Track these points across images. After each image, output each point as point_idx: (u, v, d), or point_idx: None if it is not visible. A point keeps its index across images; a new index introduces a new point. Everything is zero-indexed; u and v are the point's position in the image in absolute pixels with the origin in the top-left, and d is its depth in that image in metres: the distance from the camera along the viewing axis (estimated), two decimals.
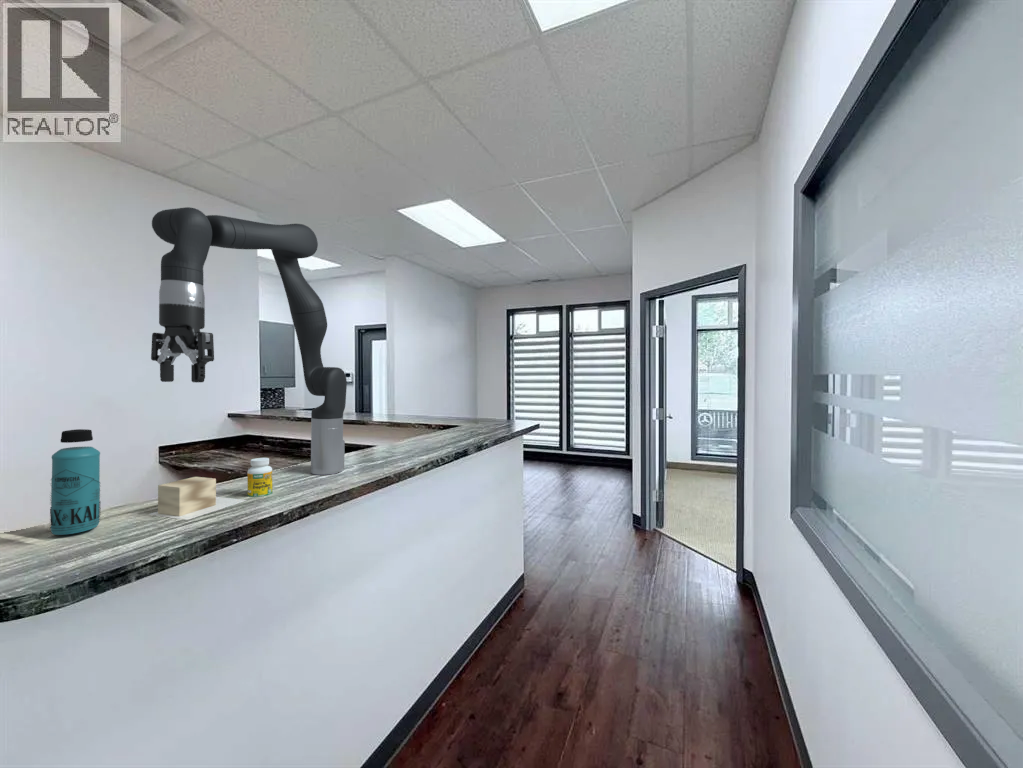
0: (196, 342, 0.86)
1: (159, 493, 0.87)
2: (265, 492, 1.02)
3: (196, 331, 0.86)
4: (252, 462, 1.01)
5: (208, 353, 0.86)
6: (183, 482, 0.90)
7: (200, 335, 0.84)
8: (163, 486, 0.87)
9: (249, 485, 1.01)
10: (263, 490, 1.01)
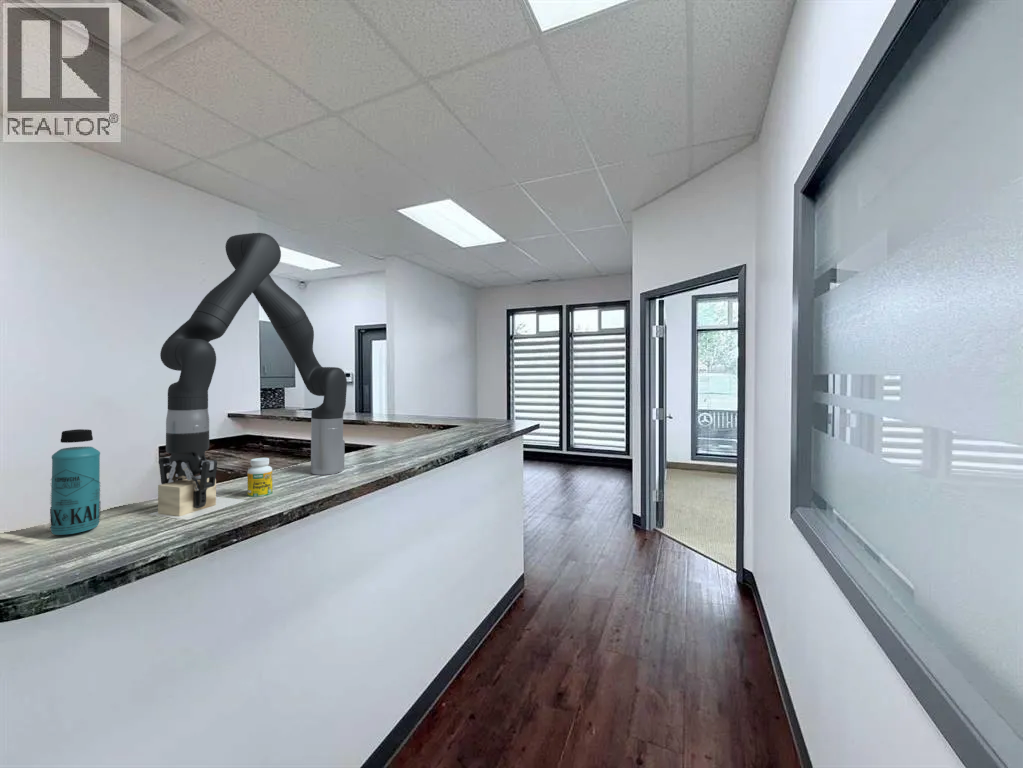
0: (200, 467, 0.90)
1: (159, 493, 0.87)
2: (265, 492, 1.02)
3: (201, 456, 0.90)
4: (252, 462, 1.01)
5: (210, 479, 0.90)
6: (183, 482, 0.90)
7: (205, 465, 0.88)
8: (163, 486, 0.87)
9: (249, 485, 1.01)
10: (263, 490, 1.01)
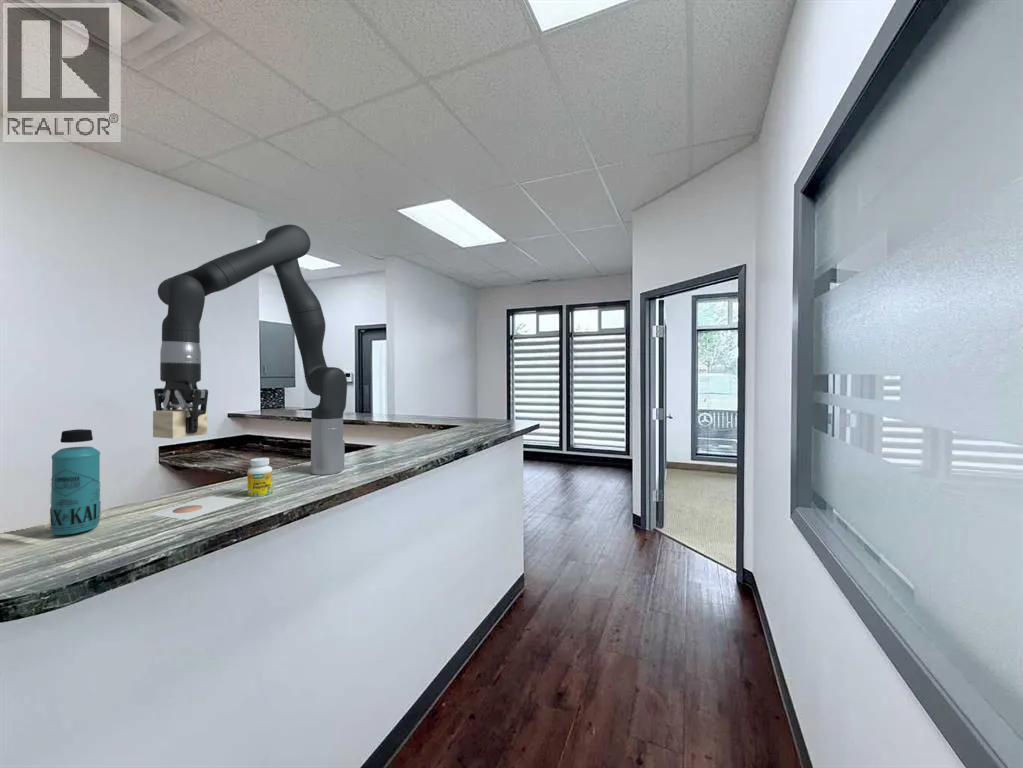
0: (192, 396, 0.97)
1: (154, 418, 0.94)
2: (265, 492, 1.02)
3: (193, 385, 0.97)
4: (252, 462, 1.01)
5: (201, 407, 0.97)
6: (176, 410, 0.97)
7: (196, 393, 0.95)
8: (157, 411, 0.94)
9: (249, 485, 1.01)
10: (263, 490, 1.01)
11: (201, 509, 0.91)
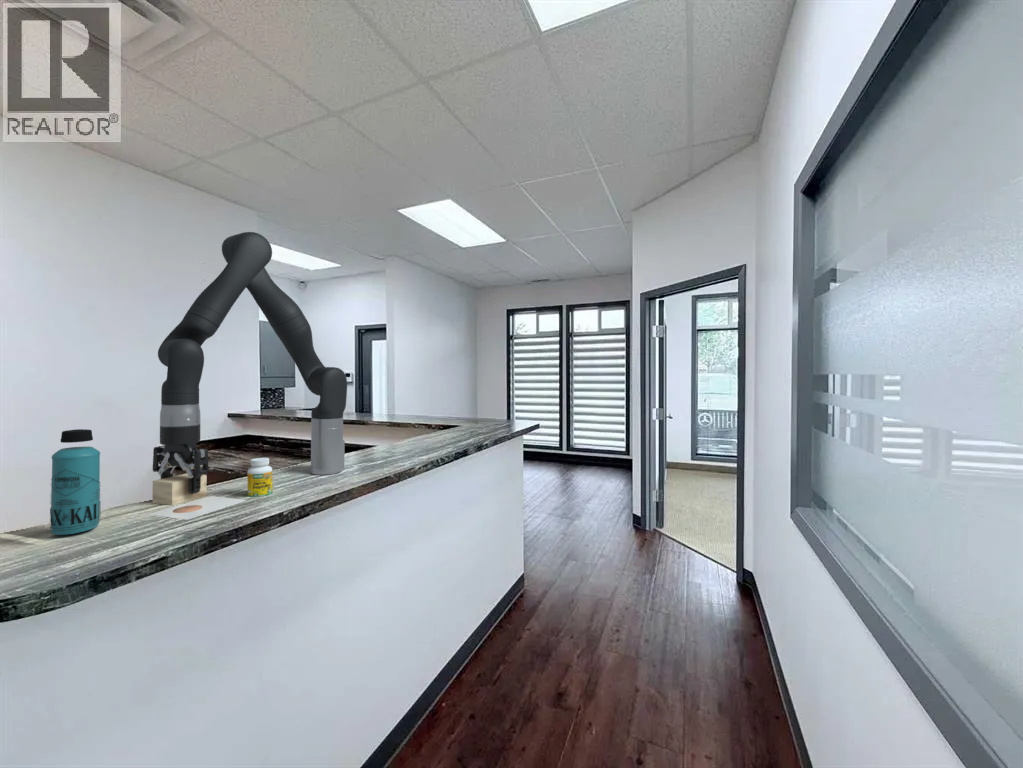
0: (192, 456, 0.97)
1: (154, 488, 0.95)
2: (265, 492, 1.02)
3: (192, 447, 0.97)
4: (252, 462, 1.01)
5: (203, 467, 0.97)
6: (176, 478, 0.97)
7: (196, 453, 0.95)
8: (157, 482, 0.94)
9: (249, 485, 1.01)
10: (263, 490, 1.01)
11: (201, 509, 0.91)
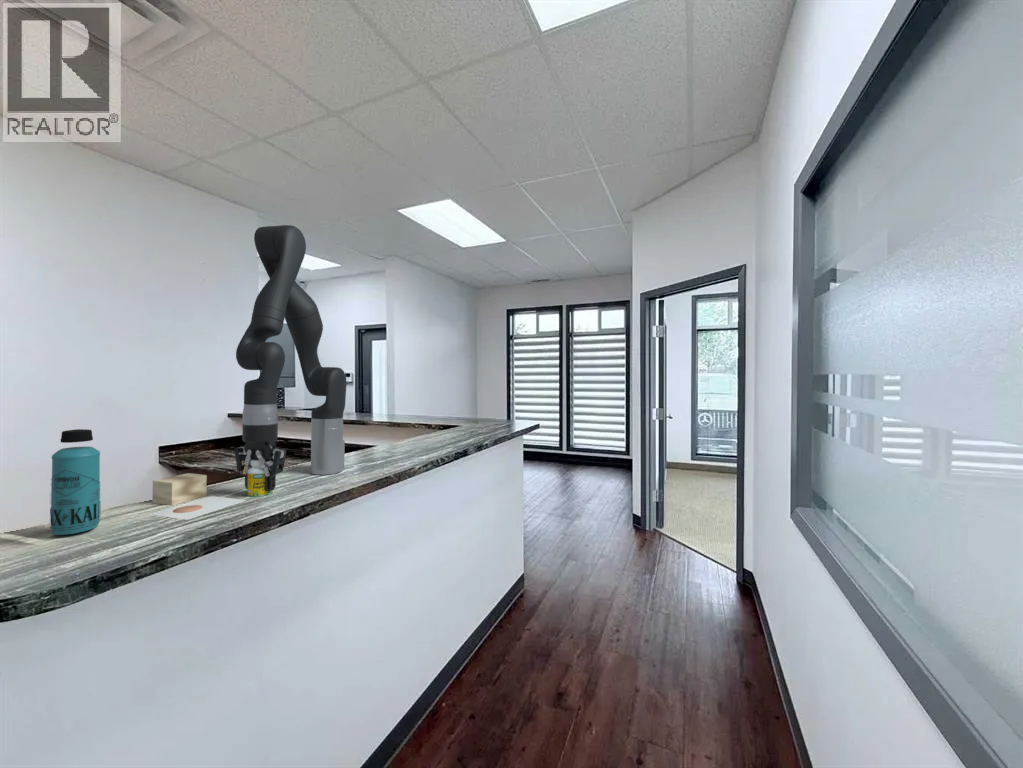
0: (271, 455, 1.03)
1: (154, 488, 0.95)
2: (265, 492, 1.02)
3: (272, 445, 1.02)
4: (252, 462, 1.01)
5: (279, 466, 1.02)
6: (176, 478, 0.97)
7: (277, 454, 1.00)
8: (157, 481, 0.94)
9: (249, 485, 1.01)
10: (263, 490, 1.01)
11: (201, 509, 0.91)
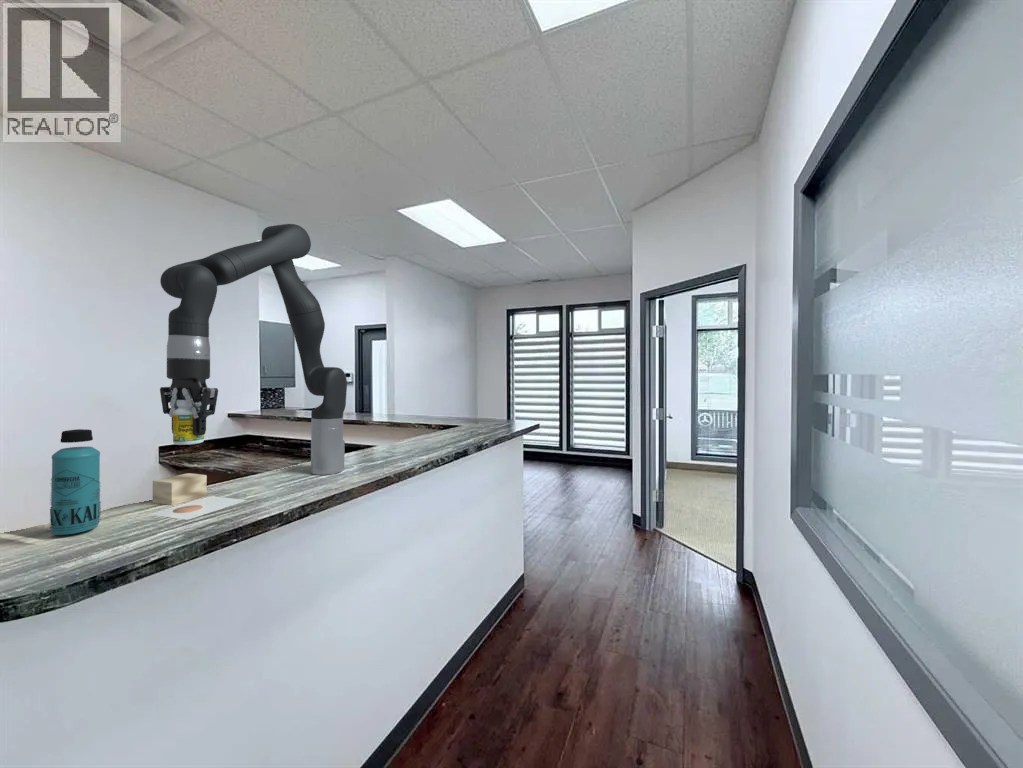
0: (201, 395, 0.90)
1: (154, 488, 0.95)
2: (194, 436, 0.89)
3: (202, 383, 0.89)
4: (178, 402, 0.88)
5: (210, 407, 0.90)
6: (176, 478, 0.97)
7: (205, 392, 0.88)
8: (157, 481, 0.94)
9: (174, 428, 0.88)
10: (190, 434, 0.89)
11: (201, 509, 0.91)
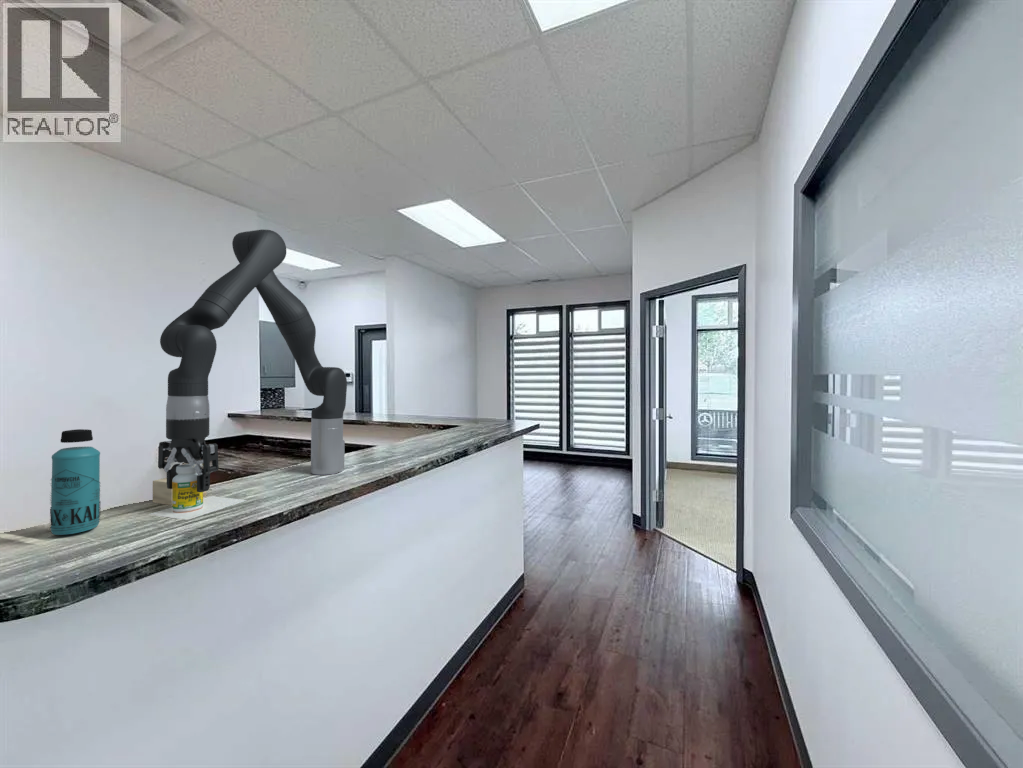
0: (201, 452, 0.90)
1: (154, 488, 0.95)
2: (193, 503, 0.89)
3: (201, 442, 0.90)
4: (177, 469, 0.89)
5: (213, 463, 0.90)
6: None
7: (205, 448, 0.88)
8: (157, 481, 0.94)
9: (174, 495, 0.88)
10: (190, 501, 0.89)
11: (201, 509, 0.91)
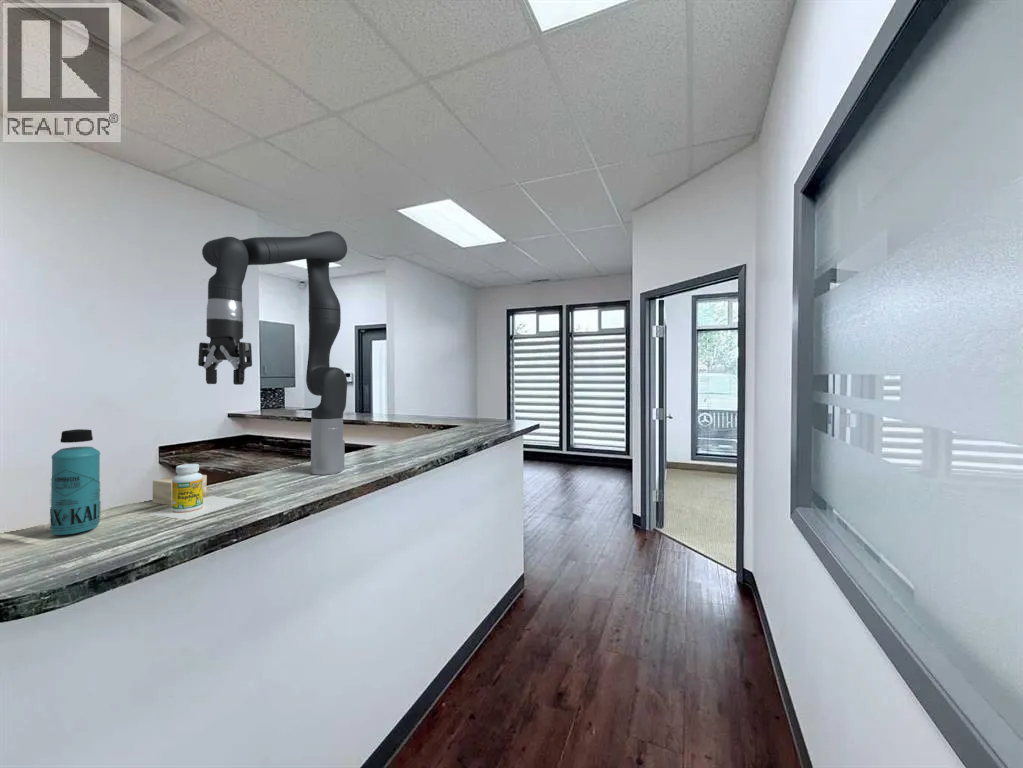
0: (237, 350, 1.02)
1: (154, 488, 0.95)
2: (193, 503, 0.89)
3: (237, 341, 1.02)
4: (177, 469, 0.89)
5: (247, 360, 1.02)
6: None
7: (241, 345, 1.00)
8: (157, 481, 0.95)
9: (173, 495, 0.88)
10: (189, 501, 0.89)
11: (201, 509, 0.91)
